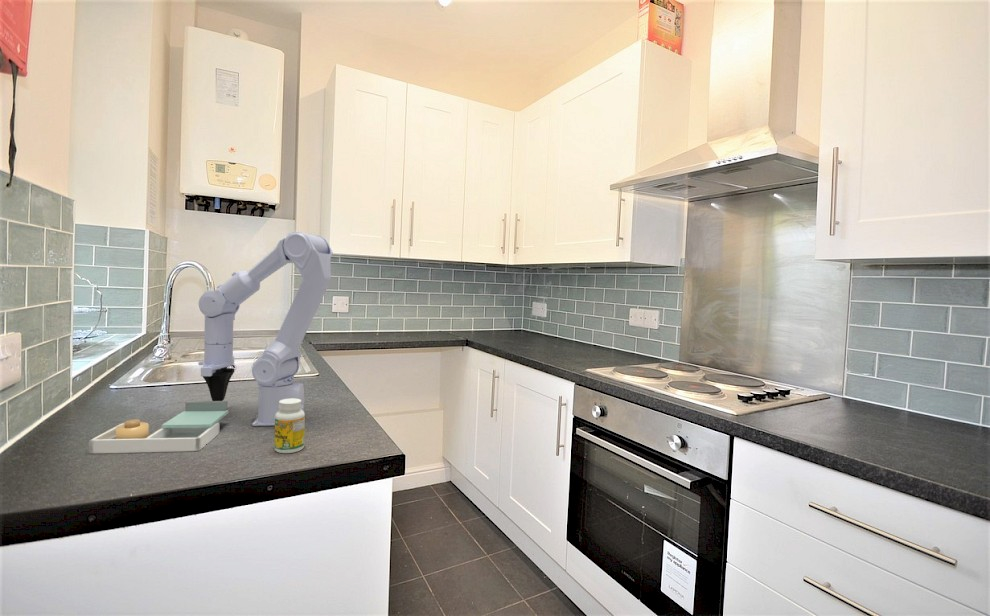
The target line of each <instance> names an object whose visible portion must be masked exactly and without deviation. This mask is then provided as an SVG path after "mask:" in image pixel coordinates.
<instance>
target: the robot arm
mask: <svg viewBox="0 0 990 616" xmlns="http://www.w3.org/2000/svg"><path fill="white" fill-rule="evenodd" d="M328 242H329V241H328V240H327V239H326V238H325V237H323V236H322V235H314V234H308V233H305V232H302V231H292V232H291V233H288V235H286V237H285V238H284V237H283V238H282V239H281V240H279V241H278V243H277V244H276V246H275V247H274V248H273V249H271V251H270V252H269V253H267V254H266V255H264V257H263V258H262V259H260V261H258V262H257V263H256V264H255V265H254V266H252V267H251V268H250V270H239V271H237V270H236V271H234V272H233V273H231V278H229V279H228V280H226V281H225V282H223V284H218V285H217V287H216V290H206V291H204V292H203V294H202V295H201V296H200V297H199V300H198V308H199V310H200V312H201V313H202V314H203V315H204V338H203V339H204V353H203V355H204V356H203V358H204V359H203V360H200V361H198V362H197V363H198V364H197V365H199V366H201V367H200V377H202V378H203V380H204V381H205V383H206V385H207V387H208V391H209V393H210V398H211V401H225V398H226V394H227V390H228V386H229V383H230V381H231V378H232V376H233V375H234V373H235V368H230V367H232V366H234V365H235V355H234V321H235V316H236V314H237V312H238V311H239V310H240V307H241V306H240V305H241V304H243V303H244V302H245V301H246V300H248V299H249V298H250V297H251V296H253V295H255V293H257V292H258V291H259V290H260V288H261V282H263V281H265V279H267V278H268V277H270V276H271V275H273V274H274V273H276V271H279V270H280V269H282V268H283V267H285V265H287V264H293V265H294V266H295V267H296V268H297V269H298V271H299V273H300V275H301V277H302V282H301V284H300V286H299V287H298V289H297V292H296V294H295V297H294V298H293V301H292V302H291V305H290V307H289V309H288V312H287V314H286V316H285V318H284V319H283V322H282V324H281V327H280V329H279V331H278V333H277V335H276V337H275V339H274V341H273V342H271V343H270V345H269V346H267V347H266V348H265V349H264V351H263V353H262V354H261V356H260V357H258V359H256V360H255V361H254V363H253V364H252V367H251V373H252V377H253V379H254V380H255V381H256V382H257V386H258V404H257V405H258V407H257V410H258V411H257V412H258V415H257V418H256V419H255V420H254V421H253V422H252V423H251V426H253V427H254V426H255V427H256V426H257V427H258V426H261V427H262V426H265V427H266V426H270V427H271V426H275V415H276V413H277V412H278V411H280V409H279V401H280V400H283V399H290V398H295V399H300V400H301V408H300V409H301V410H303V411H304V412H305V410H304V408H305V405H304V404H305V403H304V401H305V387H304V383H302V382H301V383H300V382H294V380H295V375H297V374H298V372H299V369H300V360H301V357H302V353H303V352H302V350H301V349H300V346H301V344H302V342H303V340H304V338H305V336H306V334H307V332H308V330H309V328H310V325H311V323H312V321H313V319H314V317H315V315H316V313H317V310H318V308H319V306H320V304H321V302H322V300H323V297H324V296H325V294H326V292H327V289H328V287H329V285H330V283H331V279H332V269H331V268H332V266H331V265H332V264H331V263H332V262H331V258H332V256H333V253H334V252H333V250H332V248H331V246H330V244H329V243H328Z"/></svg>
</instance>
